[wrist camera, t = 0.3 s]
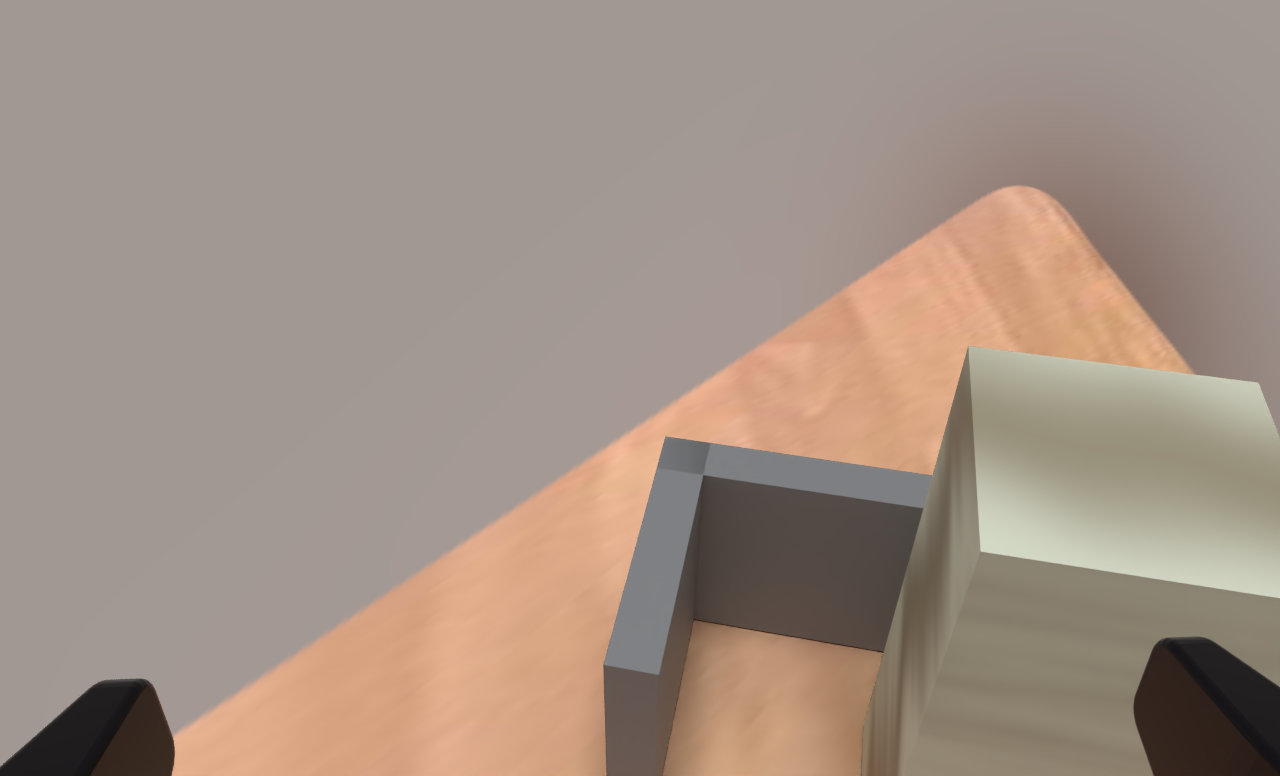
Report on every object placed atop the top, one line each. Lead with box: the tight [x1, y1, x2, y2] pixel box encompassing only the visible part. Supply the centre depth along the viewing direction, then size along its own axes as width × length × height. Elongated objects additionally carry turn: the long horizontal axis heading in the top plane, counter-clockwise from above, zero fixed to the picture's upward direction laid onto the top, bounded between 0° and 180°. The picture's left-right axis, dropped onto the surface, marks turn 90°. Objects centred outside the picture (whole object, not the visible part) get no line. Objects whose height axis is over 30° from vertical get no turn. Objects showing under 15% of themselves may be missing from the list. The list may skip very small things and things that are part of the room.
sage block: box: [861, 346, 1280, 776], centre depth 21 cm, size 5×5×13 cm
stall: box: [603, 437, 932, 776], centre depth 25 cm, size 7×17×6 cm, turn 78°
